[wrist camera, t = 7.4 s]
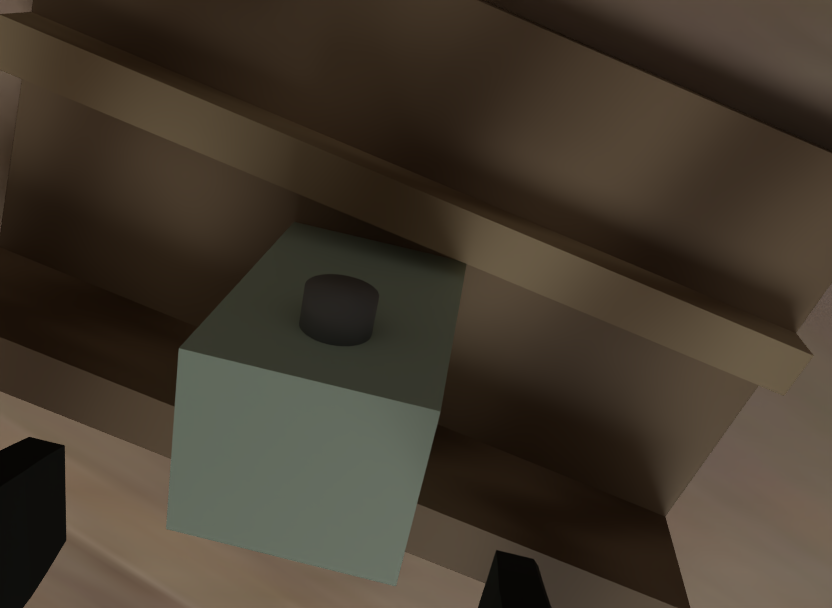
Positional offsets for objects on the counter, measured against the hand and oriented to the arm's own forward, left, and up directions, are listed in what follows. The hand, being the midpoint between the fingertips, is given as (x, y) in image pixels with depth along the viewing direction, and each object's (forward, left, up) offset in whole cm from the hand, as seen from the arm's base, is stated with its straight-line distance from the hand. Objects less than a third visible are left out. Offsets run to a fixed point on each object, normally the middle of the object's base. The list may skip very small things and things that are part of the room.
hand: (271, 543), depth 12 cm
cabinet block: (0, 0, -8) cm, 8 cm away
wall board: (0, -2, -9) cm, 10 cm away
